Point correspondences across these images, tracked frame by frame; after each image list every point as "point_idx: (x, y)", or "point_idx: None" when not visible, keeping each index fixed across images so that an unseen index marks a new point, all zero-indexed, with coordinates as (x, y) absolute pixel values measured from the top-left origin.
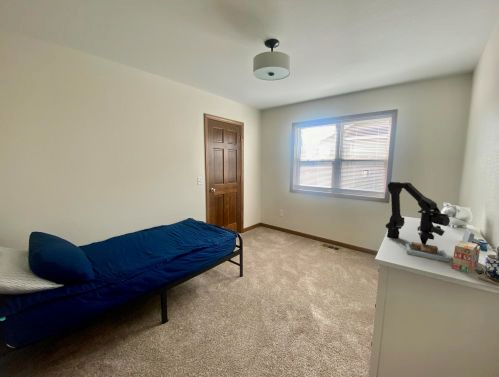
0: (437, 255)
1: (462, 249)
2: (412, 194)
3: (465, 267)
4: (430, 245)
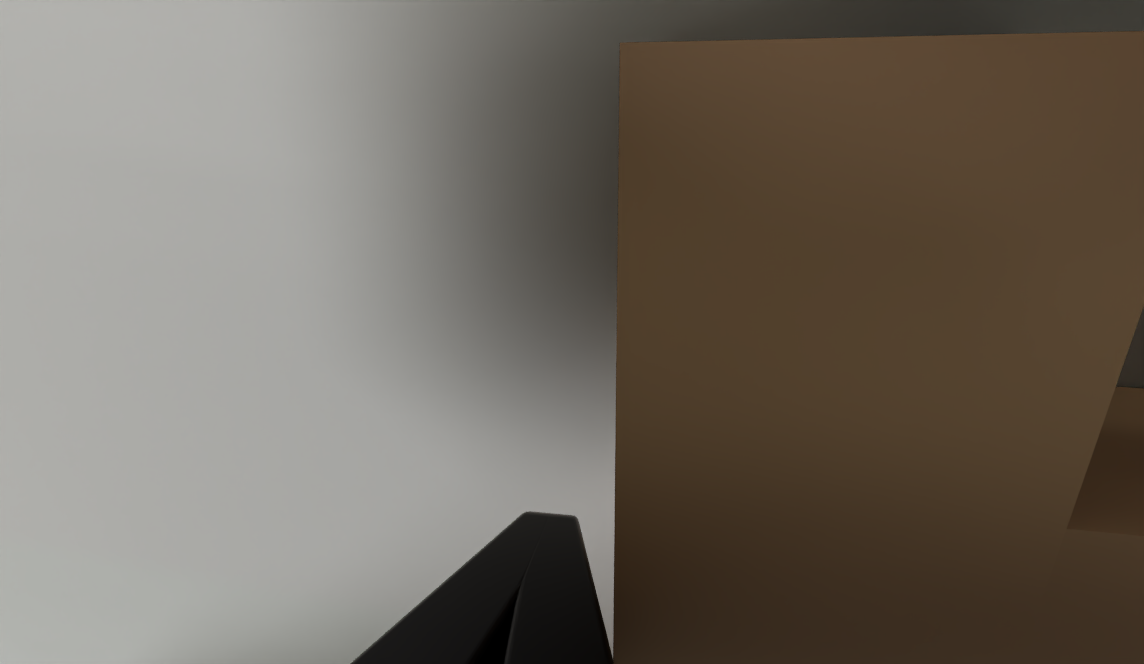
0: None
1: None
2: None
3: None
4: (705, 404)
